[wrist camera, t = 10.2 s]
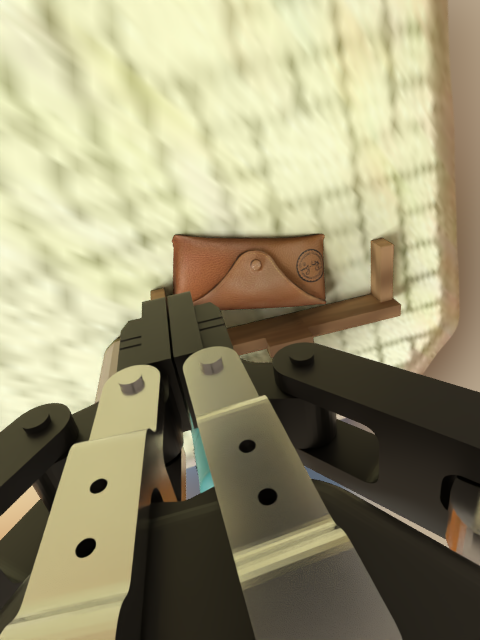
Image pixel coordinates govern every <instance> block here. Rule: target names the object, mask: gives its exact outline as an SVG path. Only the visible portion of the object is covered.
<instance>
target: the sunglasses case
mask: <svg viewBox="0 0 480 640" xmlns="http://www.w3.org/2000/svg"><path fill="white" fill-rule="evenodd" d="M324 238H325V237H324V235H323V234H313V235H308V236H301V237H288V238H206V237H192V236H187V235H174V237H173V239H172V242H173V247H174V254H173V255H174V258H173V287H174V289H173V295H175V294H179V293H183V292H188V291H190V292H191V297H192V301H193V305H194V306H195V305H199V304H204V303H208V302H211V303H213V304H214V305H216V306H217V307H219V308H220V310H234V309H256V308H279V307H295V306H306V305H315V304H326V301H325V299H326V297H325V281H324V260H323V239H324Z"/></svg>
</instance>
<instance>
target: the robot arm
mask: <svg viewBox="0 0 480 640" xmlns="http://www.w3.org/2000/svg"><path fill="white" fill-rule="evenodd" d="M167 299H168V302H167ZM167 299H166V297H162V298H158V299H153V300H149V301H145V302H142V318H140V319H136V320H131V321H128V323H127V324H126V325H125V327H124V328H123V329H122V330H121V335H120V345H119V350H120V351H119V354H118V364H117V373H115V374H114V375H112V376H111V377H110V378H109V379H108V380H107V381H106V383H105V384H104V386H103V389H102V393H101V397H100V401H98V402H97V403H95V404H93V405H91V406H89V407H87V408H85V409H83V410H81V411H79V412H76V413H74V414H71V412H70V410H69V408H68V407H67V406H65V405H63V404H59V403H51V404H45V405H41V406H38V407H36V408H33V409H31V410H29V411H28V412H26V413H24V414H23V415H21V416H20V417H19V418H17V419H16V420H15V421H14V422H12V423H11V424H10V425H9V426H8V427H6V428H5V429H4V430H3V431H1V432H0V516H1V515H2V514H3V513H4V512H5V511H6V510H7V509H8V508H9V507H10V506H11V505H12V504H13V503H14V502H15V501H16V500H17V499H18V498H19V497H20V496H21V495H22V494H23V493H24V492H26V490H27V489H29V488H30V487H31V486H32V485H33V487H34V489H35V490H36V492H37V494H38V495H39V497H40V498H41V499H40V500H39V501H38V502H37V503H36V504H35V505H34V506H33V507H32V508H31V509H30V510H29V511H28V512H27V513H26V514H25V515H24V516H23V518H22V519H21V520H20V521H19V522H18V523H17V524H16V525H15V526H14V527H13V528H12V529H11V530H10V531H9V532H8V533H7V534H6V535H5V536H4V537H3V538H2V539H1V540H0V640H480V392H477V391H473V390H470V389H467V388H463V387H460V386H456V385H453V384H450V383H446V382H443V381H439V380H436V379H433V378H430V377H426V376H423V375H420V374H416V373H413V372H410V371H406V370H403V369H400V368H396V367H393V366H390V365H386V364H383V363H380V362H376V361H373V360H370V359H366V358H363V357H360V356H356V355H353V354H350V353H346V352H343V351H339V350H336V349H333V348H329V347H326V346H323V345H319V344H316V343H309V342H302V343H294V344H291V345H288V346H285V347H283V348H282V349H280V350H279V351H278V352H277V353H276V354H275V355H274V357H273V361H272V363H254V362H249V361H246V360H243V359H241V358H240V357H239V356H238V354H237V353H236V352H235V351H234V349H233V346H232V343H231V340H230V337H229V335H228V332H227V329H226V326H225V323H224V320H223V317H222V314H221V311H220V308H219V307H217V306H216V305H214V304H213V303H211V302H208V303H204V304H199V305H195V306H194V305H193V301H192V297H191V292H190V291H188V292H183V293H179V294H175V295H170V296H167ZM336 413H337V414H339V415H341V416H344V417H346V418H349V419H351V420H354V421H356V422H359V423H361V424H363V425H365V426H367V427H368V428H370V429H371V430H372V431H373V432H374V433H375V435H374V434H372V433H369V432H367V431H365V430H362V429H360V428H357V427H355V426H352V425H350V424H348V423H345V422H343V421H341V420H338V419H336ZM190 415H191V419H192V422H193V426H194V429H196V428H199V432H200V435H201V439H202V443H203V446H204V450H205V454H206V458H207V461H208V465H209V469H210V472H211V476H212V480H213V483H214V487H212V488H210V489H208V490H206V491H204V492H202V493H200V494H198V495H196V496H195V497H193V498H191V499H188V500H186V455H185V451H184V448H183V432H185V431H188V430H192V426H191V419H190ZM304 466H306V467H308V468H310V469H312V470H314V471H315V472H317V473H320V474H321V475H323V476H325V477H327V478H329V479H331V480H333V481H335V482H337V483H339V484H341V485H343V486H344V487H346V488H349V489H350V490H352V491H354V492H356V493H358V494H360V495H362V496H364V497H366V498H367V499H369V500H372V501H373V502H375V503H377V504H379V505H381V506H383V507H385V508H387V509H389V510H391V511H393V512H394V513H396V514H398V515H400V516H402V517H404V518H406V519H408V520H410V521H412V522H414V523H416V524H417V525H419V526H421V527H423V528H425V529H427V530H429V531H431V532H433V533H435V534H437V535H439V536H441V537H442V538H444V539H446V541H447V544H448V546H449V548H447V547H446V546H444V545H442V544H441V543H439V542H437V541H435V540H433V539H432V538H430V537H428V536H426V535H424V534H423V533H421V532H419V531H417V530H416V529H414V528H412V527H410V526H409V525H407V524H405V523H403V522H401V521H400V520H398V519H396V518H394V517H393V516H391V515H389V514H387V513H386V512H384V511H382V510H380V509H378V508H377V507H375V506H373V505H372V504H370V503H368V502H366V501H365V500H363V499H361V498H359V497H357V496H356V495H354V494H352V493H350V492H349V491H347V490H345V489H342V488H340V487H338V486H336V485H333V484H330V483H327V482H324V481H320V480H314V479H311V478H310V477H309V475H308V473H307V471H306V469H305V467H304Z"/></svg>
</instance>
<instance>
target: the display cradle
mask: <svg viewBox="0 0 480 640" xmlns="http://www.w3.org/2000/svg"><path fill="white" fill-rule="evenodd" d="M393 255H394V245H393V244H392V243H390V242H389V241H387V240H385V239H384V238H381V239H376V240H372V241H371V294H369V295H365V296H360V297H356V298H352V299H348V300H344V301H340V302H335V303H331V304H327V305H323V306H319V307H315V308H310V309H306V310H302V311H298V312H294V313H290V314H286V315H281V316H277V317H273V318H269V319H265V320H261V321H256V322H252V323H248V324H244V325H240V326H236V327H231V328H227V332H228V335H229V337H230V340H231V343H232V346H233V349H234V351H235V352H236V353H237V354H238V356H239V355H243V354H247V353H251V352H255V351H259V350H263V349H267V350H268V352H269V354H270V357H271V358H273V357H274V355H275V354H276V353H277V352H278V351H279V350H280V349H282V348H283V347H285V346H288V345H291V344H294V343H302V342H309V343H314V340H313V337H316V336H320V335H324V334H328V333H332V332H336V331H340V330H344V329H348V328H352V327H356V326H361V325H365V324H369V323H373V322H377V321H381V320H385V319H389V318H393V317H397V316H400V315H401V304H400V303H398V302H397V301H396V300H395V299H394V298H392V295H393ZM162 297H166V294H165V290H164V288H162V289H157V290H153V291H151V300H153V299H158V298H162ZM166 299H167V297H166ZM167 302H168V301H167Z"/></svg>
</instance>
